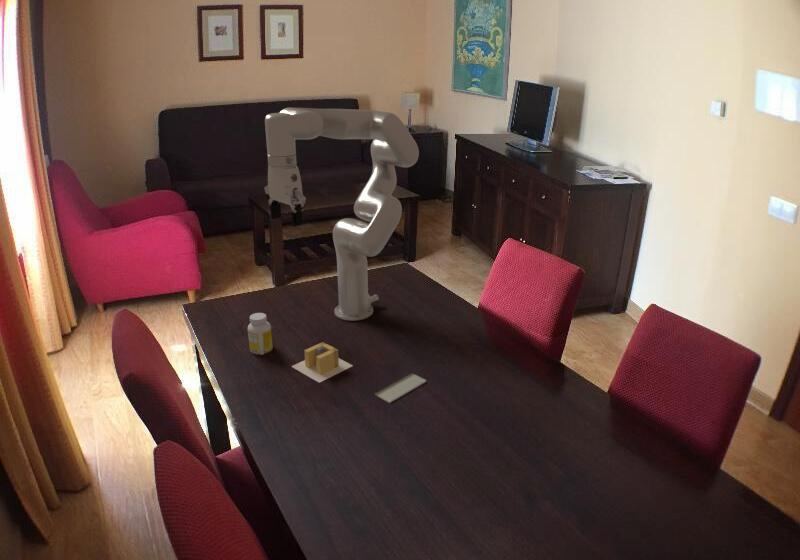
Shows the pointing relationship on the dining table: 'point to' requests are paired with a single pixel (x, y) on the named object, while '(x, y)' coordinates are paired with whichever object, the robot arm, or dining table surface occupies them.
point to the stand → (312, 370)
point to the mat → (400, 387)
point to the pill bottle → (259, 334)
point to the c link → (322, 358)
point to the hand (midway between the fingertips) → (286, 221)
